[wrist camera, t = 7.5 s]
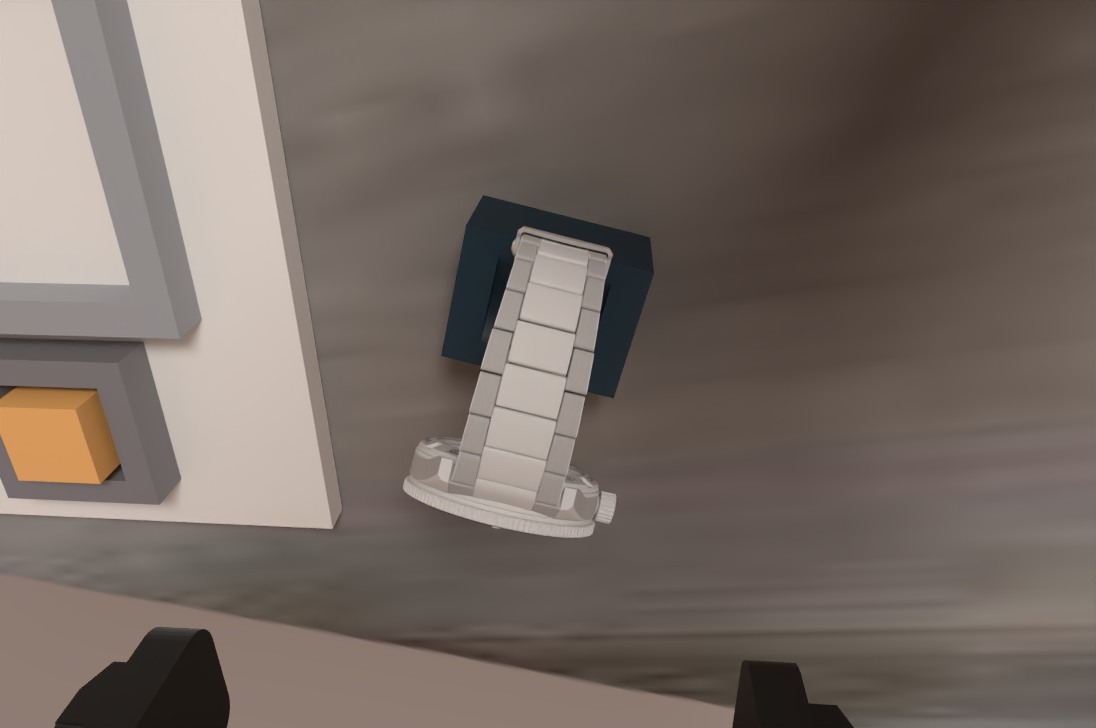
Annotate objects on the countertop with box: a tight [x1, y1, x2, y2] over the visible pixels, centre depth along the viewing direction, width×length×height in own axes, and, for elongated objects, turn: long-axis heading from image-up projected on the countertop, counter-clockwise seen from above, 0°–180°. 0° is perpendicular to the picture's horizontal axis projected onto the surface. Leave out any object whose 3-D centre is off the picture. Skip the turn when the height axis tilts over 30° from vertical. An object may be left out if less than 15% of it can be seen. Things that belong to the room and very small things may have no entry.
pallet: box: [0, 0, 342, 529], centre depth 25 cm, size 24×17×3 cm
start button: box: [0, 386, 120, 484], centre depth 27 cm, size 3×3×2 cm
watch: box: [403, 195, 654, 538], centre depth 21 cm, size 6×8×11 cm
